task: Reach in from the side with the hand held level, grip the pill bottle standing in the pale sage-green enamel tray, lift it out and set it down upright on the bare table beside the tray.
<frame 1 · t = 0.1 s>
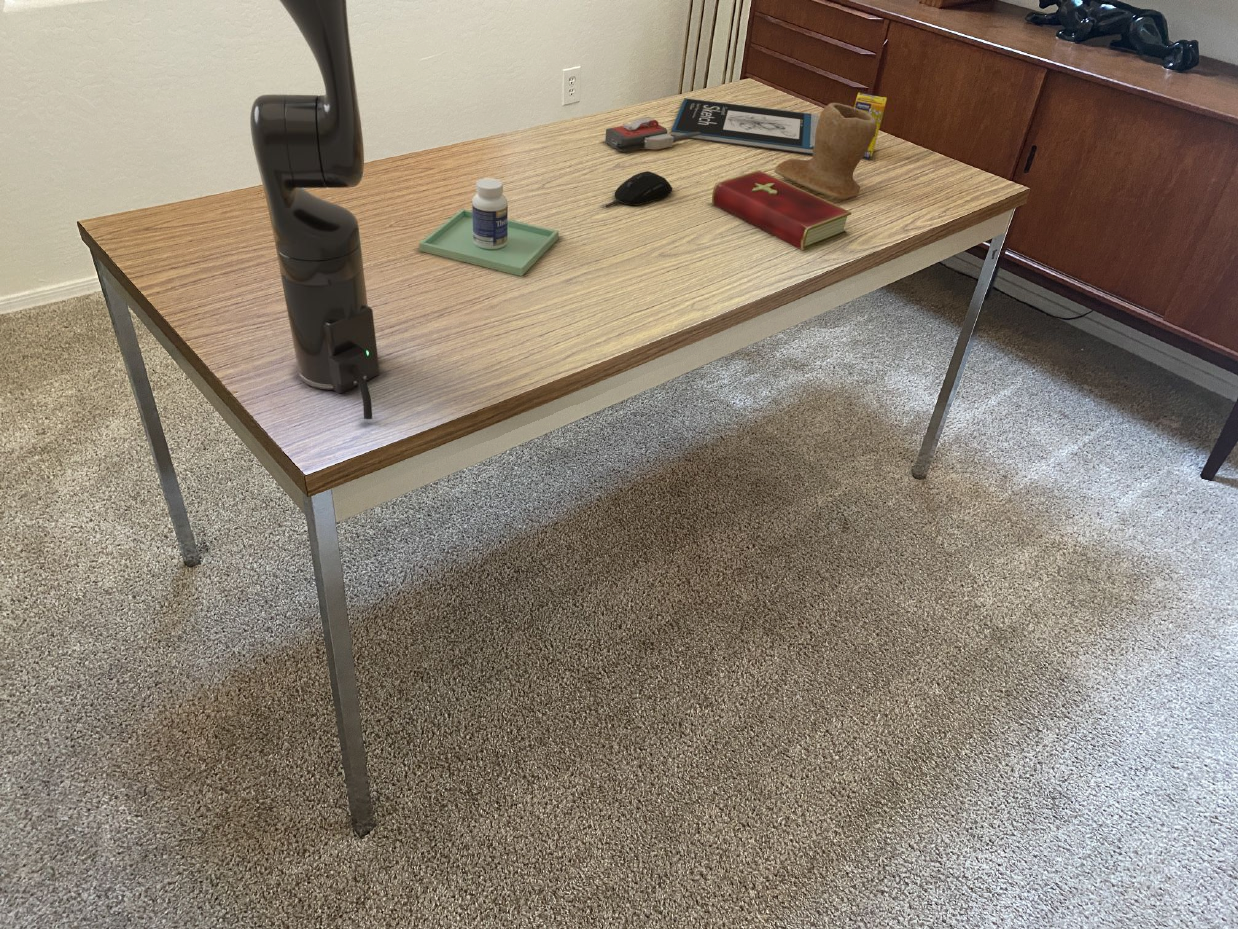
pill bottle: (490, 243, 141), resting on tray
supplement box: (857, 153, 185), on the table
tray: (490, 244, 141), on the table
hardcover book: (777, 220, 157), on the table
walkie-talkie: (650, 143, 181), on the table
sketchbook: (746, 129, 191), on the table
brown boot: (821, 188, 170), on the table
gaming mouse: (637, 198, 160), on the table
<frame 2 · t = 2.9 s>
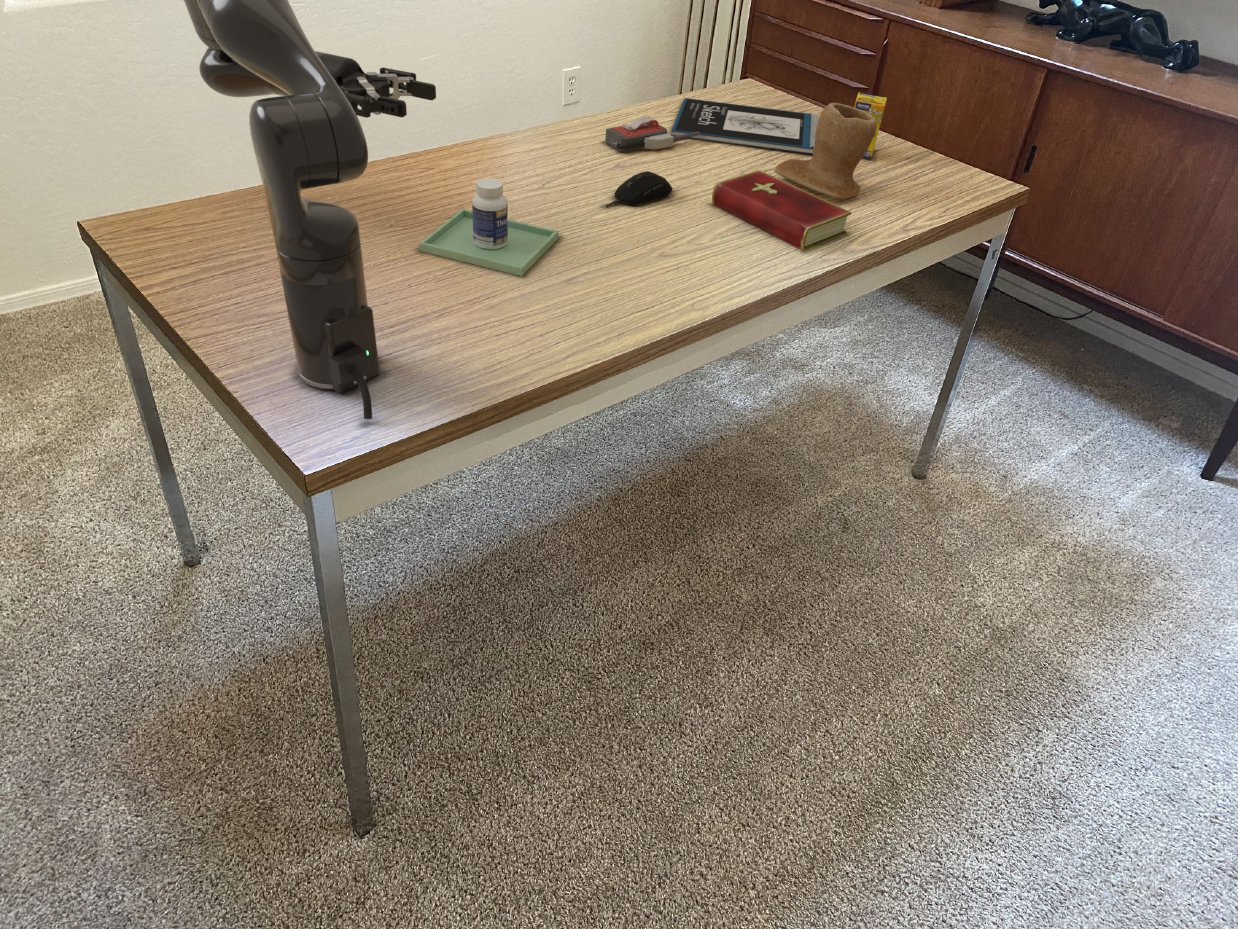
hand: (420, 100, 131), 20 cm above the table, tool horizontal, fingers open, 8 cm apart
nothing on the table moved.
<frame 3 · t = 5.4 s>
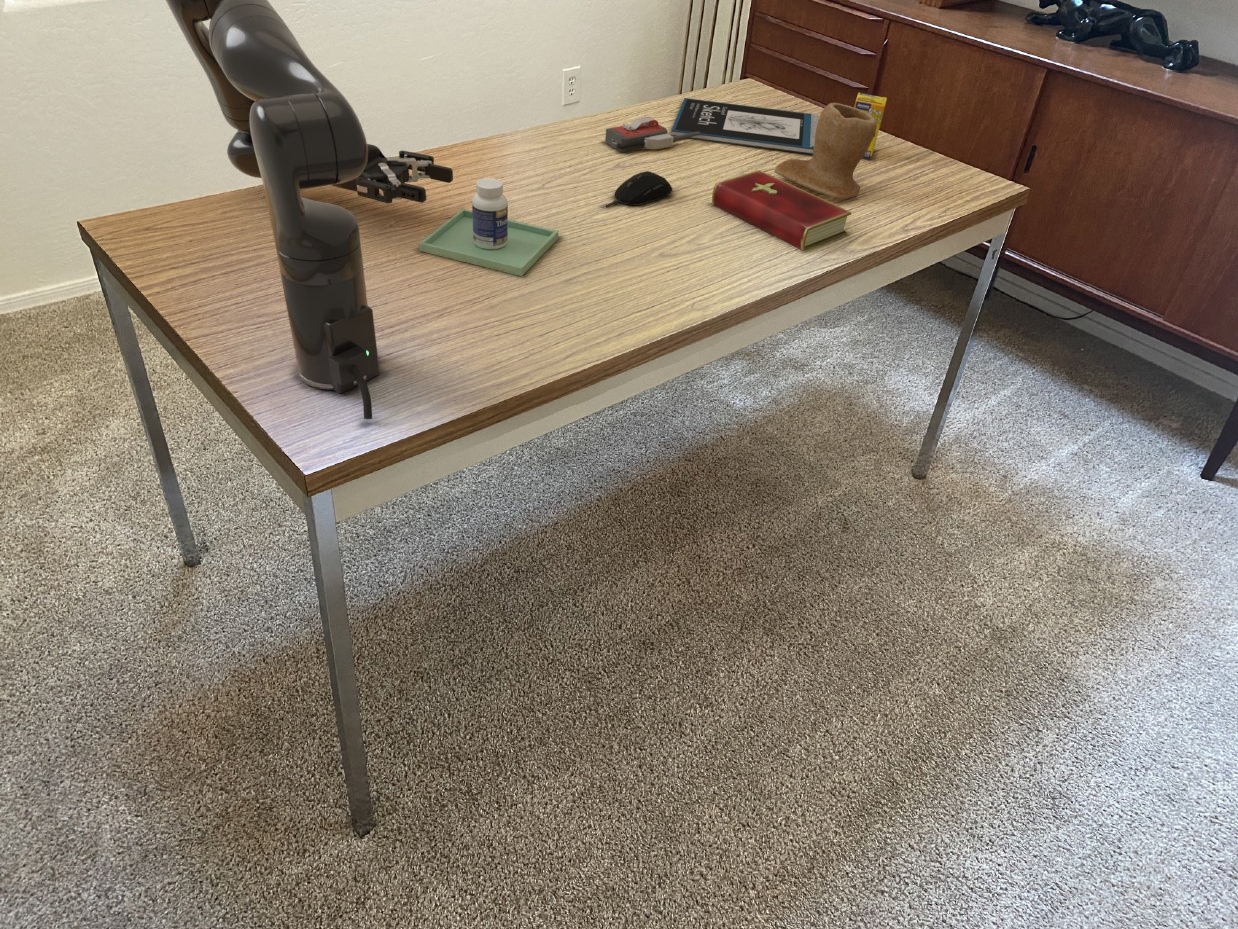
hand: (438, 185, 138), 8 cm above the table, tool horizontal, fingers open, 8 cm apart
nothing on the table moved.
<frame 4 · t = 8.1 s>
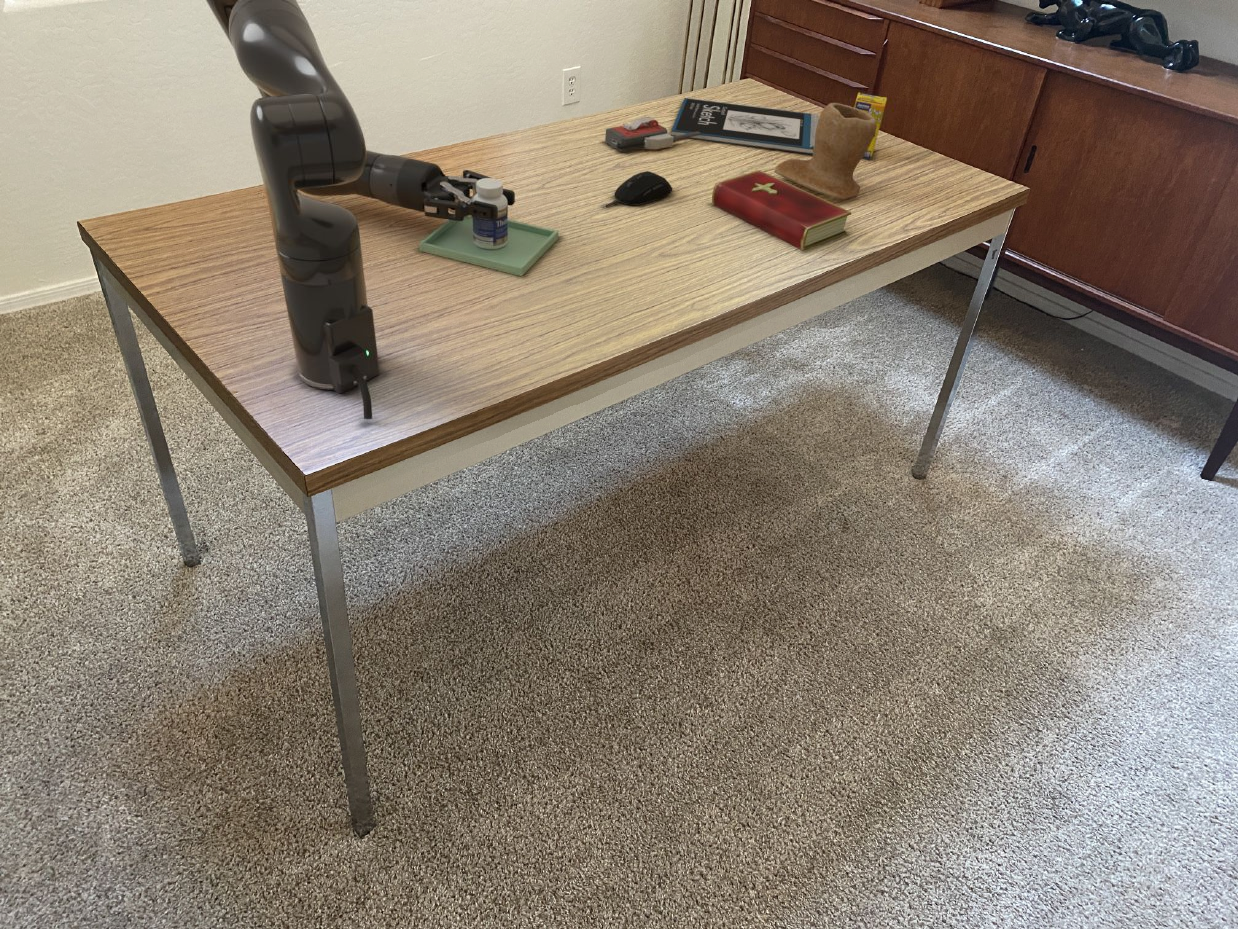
hand: (505, 205, 136), 7 cm above the table, tool horizontal, fingers closed on pill bottle, 5 cm apart
pill bottle: (490, 243, 141), resting on tray, touching gripper
everything else where it was.
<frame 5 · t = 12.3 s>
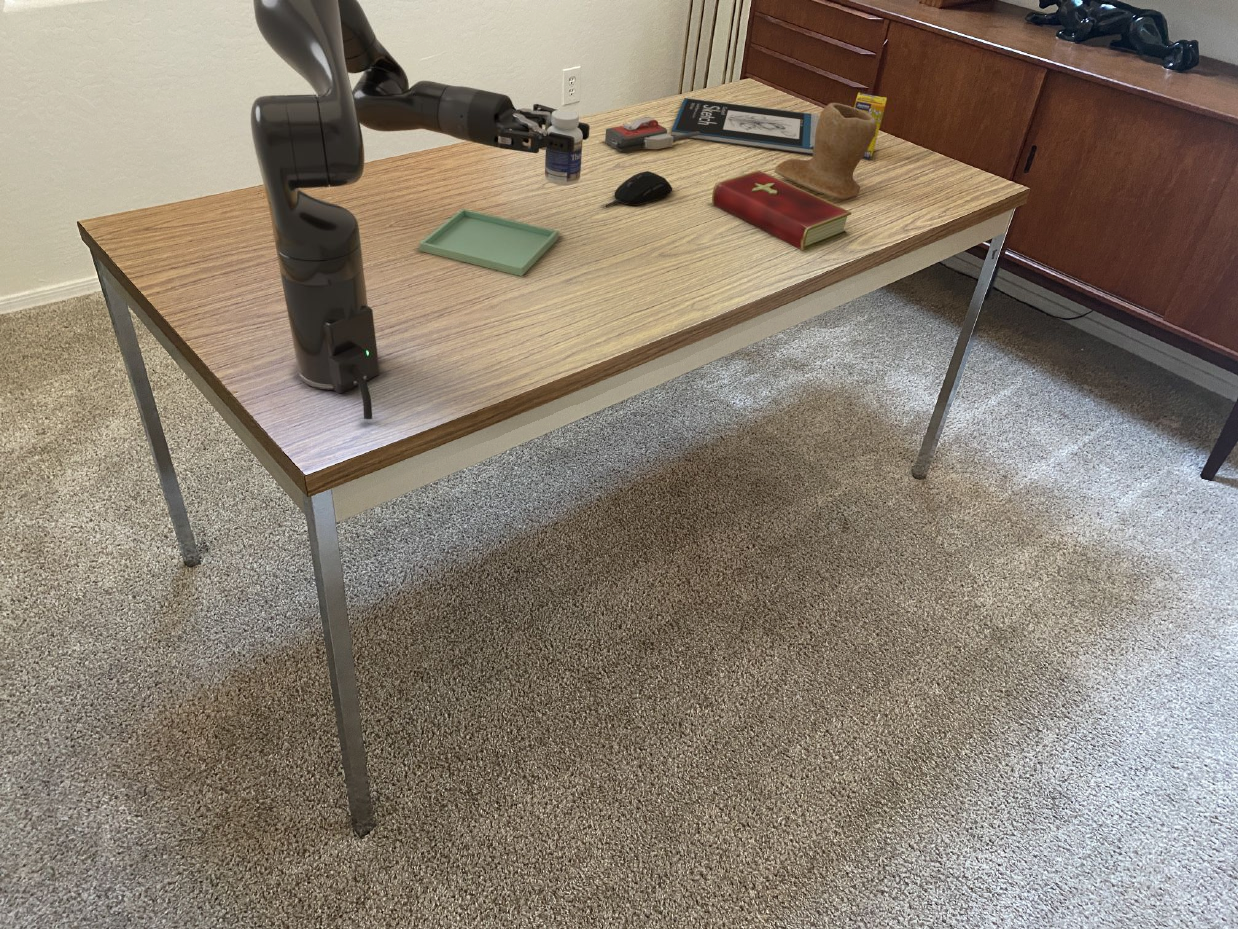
hand: (580, 138, 131), 18 cm above the table, tool horizontal, fingers closed on pill bottle, 5 cm apart
pill bottle: (562, 180, 136), point 11 cm above the table, touching gripper
everything else where it was.
when the fingers open (7 cm above the table, at t = 16.6 s): pill bottle stays where it is, on the table.
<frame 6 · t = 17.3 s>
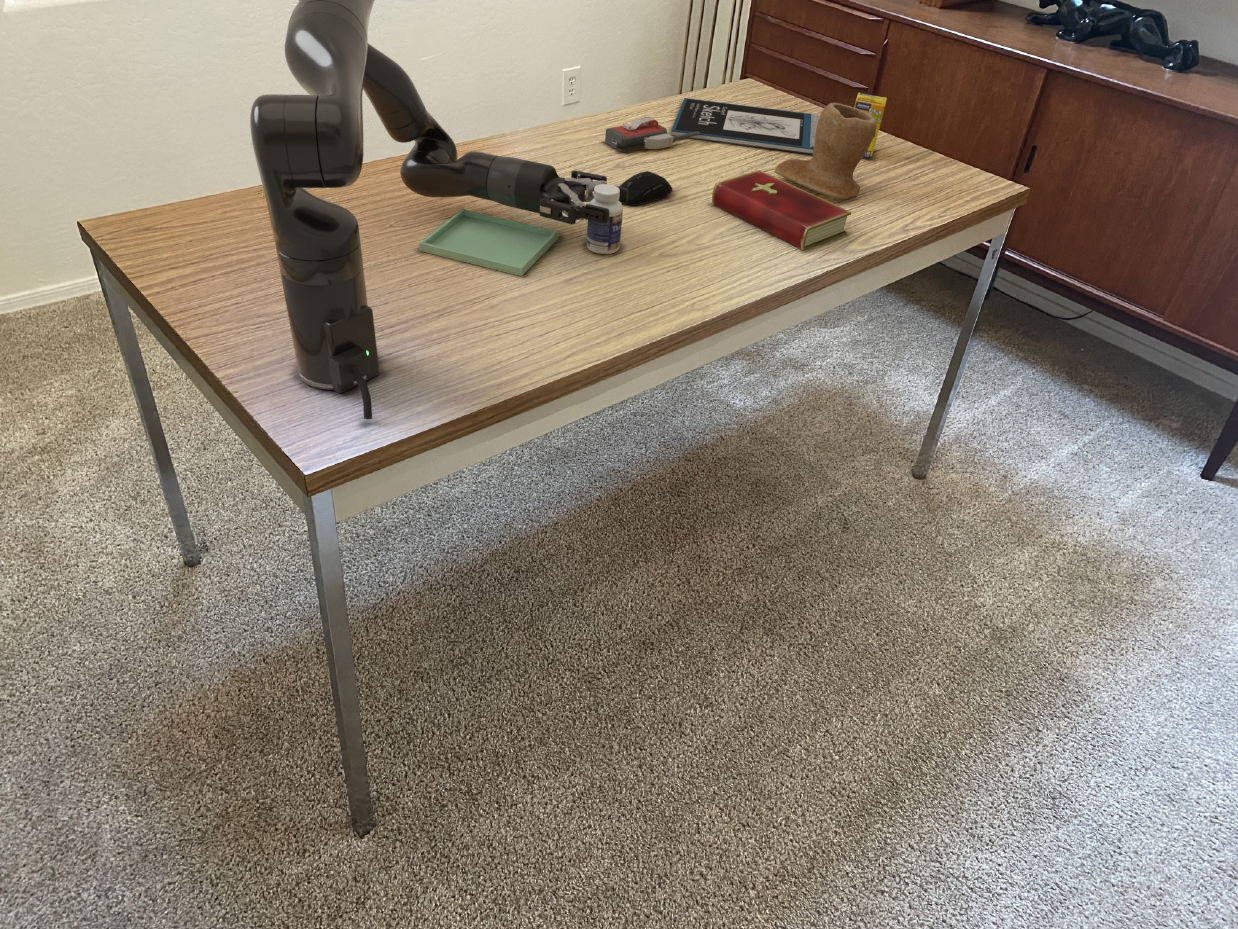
hand: (618, 206, 138), 7 cm above the table, tool horizontal, fingers open, 8 cm apart
pill bottle: (602, 248, 144), on the table
everything else where it was.
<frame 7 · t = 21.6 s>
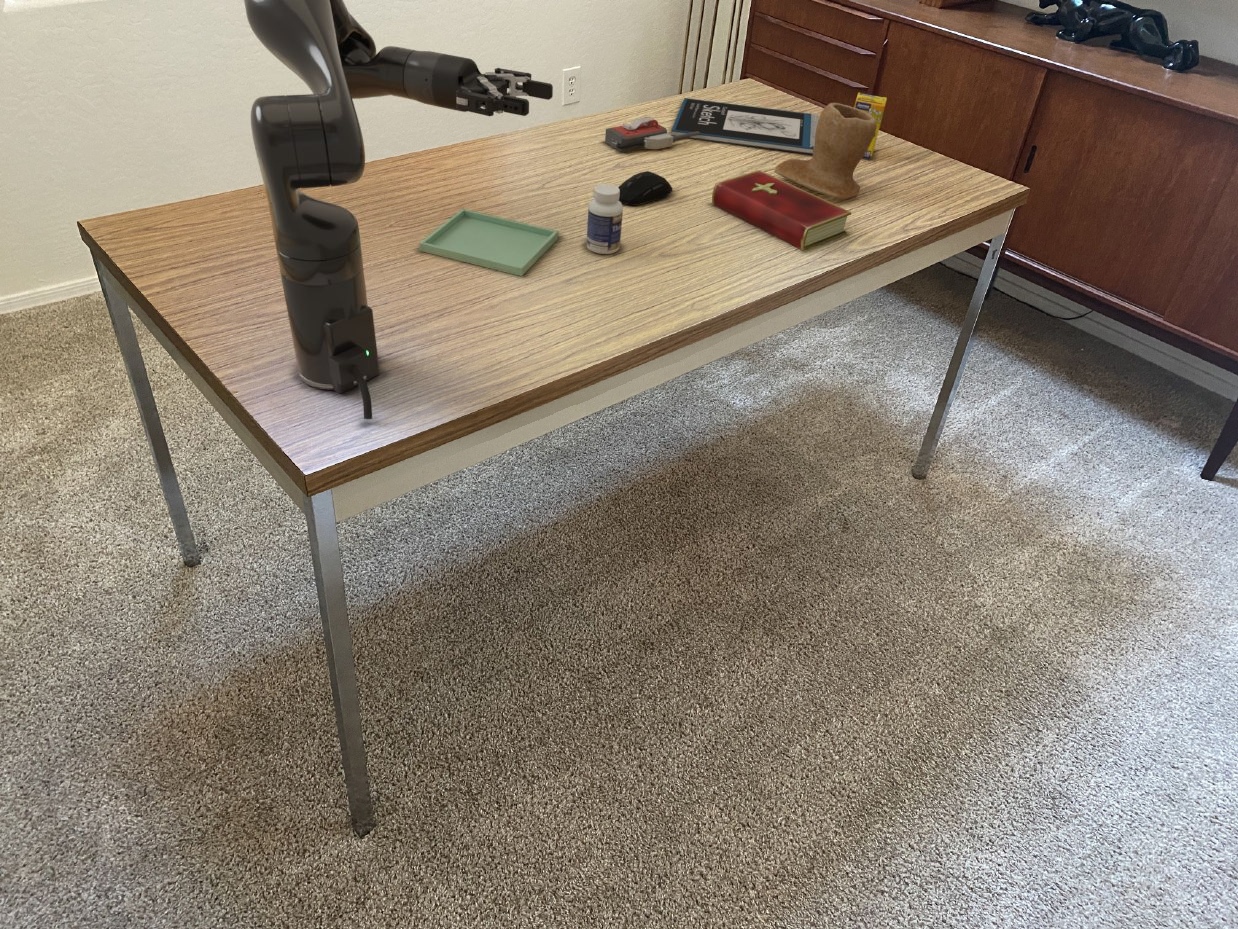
hand: (540, 99, 132), 21 cm above the table, tool horizontal, fingers open, 8 cm apart
nothing on the table moved.
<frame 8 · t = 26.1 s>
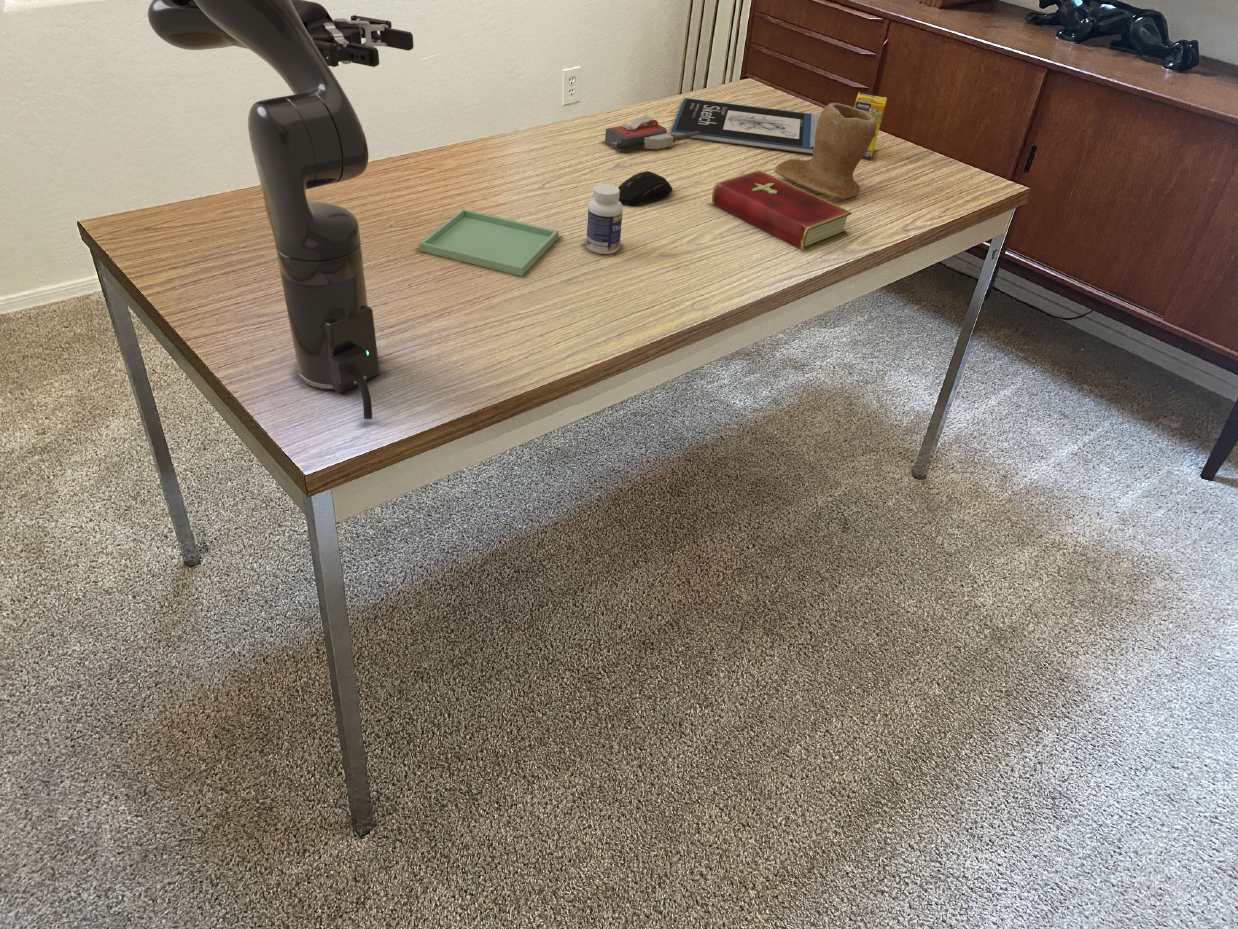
hand: (395, 49, 116), 30 cm above the table, tool horizontal, fingers open, 8 cm apart
nothing on the table moved.
at the end: pill bottle inside the target area (0.2 cm from its centre), on the table; pill bottle tilted 0°; the gripper is holding nothing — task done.
